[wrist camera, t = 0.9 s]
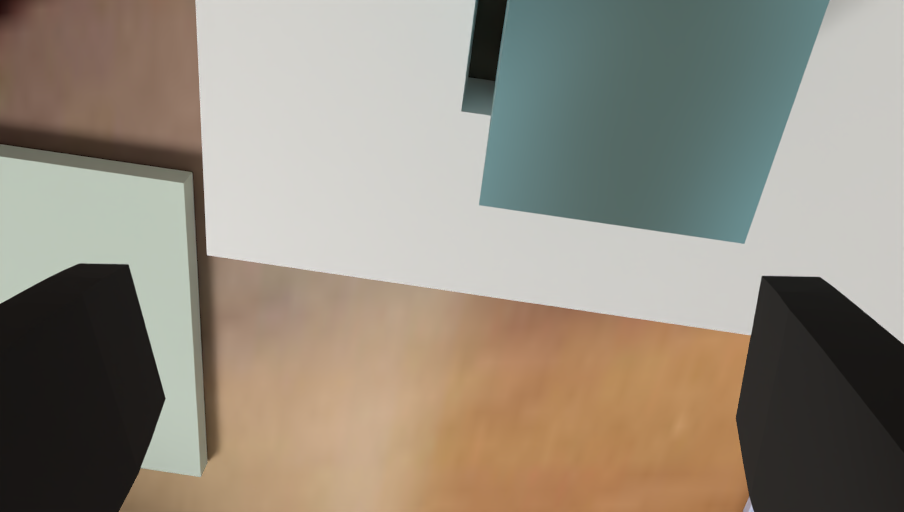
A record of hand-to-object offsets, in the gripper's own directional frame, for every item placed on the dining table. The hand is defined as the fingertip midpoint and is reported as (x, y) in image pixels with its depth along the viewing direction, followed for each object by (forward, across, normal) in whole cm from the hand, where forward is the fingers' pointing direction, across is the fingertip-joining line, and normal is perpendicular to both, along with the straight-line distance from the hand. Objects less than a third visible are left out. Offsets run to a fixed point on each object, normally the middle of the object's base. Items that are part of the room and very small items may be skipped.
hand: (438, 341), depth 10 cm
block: (+10, -2, -2) cm, 11 cm away
